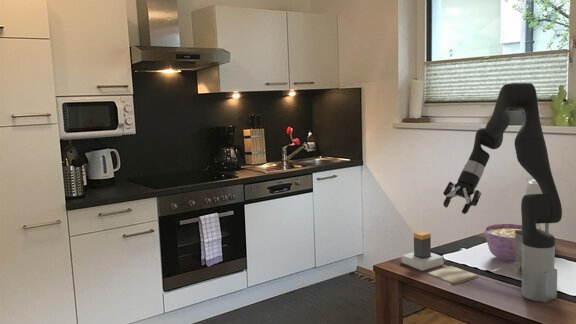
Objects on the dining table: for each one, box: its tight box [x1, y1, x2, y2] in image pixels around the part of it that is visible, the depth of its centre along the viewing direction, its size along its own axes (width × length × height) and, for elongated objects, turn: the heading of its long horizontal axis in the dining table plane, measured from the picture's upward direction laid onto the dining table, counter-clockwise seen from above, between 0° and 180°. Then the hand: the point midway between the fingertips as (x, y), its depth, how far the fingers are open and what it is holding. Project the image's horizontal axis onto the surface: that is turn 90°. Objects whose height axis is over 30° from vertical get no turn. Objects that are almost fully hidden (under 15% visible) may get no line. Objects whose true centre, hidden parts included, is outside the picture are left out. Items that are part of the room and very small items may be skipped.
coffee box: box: [514, 229, 547, 279], centre depth 178 cm, size 9×6×16 cm
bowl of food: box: [483, 223, 522, 264], centre depth 196 cm, size 20×20×12 cm
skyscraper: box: [525, 177, 550, 234], centre depth 216 cm, size 8×8×28 cm
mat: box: [427, 265, 478, 286], centre depth 183 cm, size 12×12×1 cm
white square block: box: [401, 251, 445, 271], centre depth 196 cm, size 11×11×4 cm
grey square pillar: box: [413, 230, 432, 259], centre depth 195 cm, size 4×4×12 cm
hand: (454, 210), depth 202 cm, fingers open, 8 cm apart
